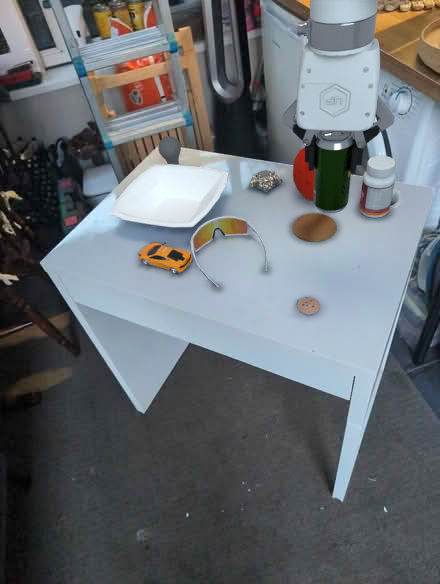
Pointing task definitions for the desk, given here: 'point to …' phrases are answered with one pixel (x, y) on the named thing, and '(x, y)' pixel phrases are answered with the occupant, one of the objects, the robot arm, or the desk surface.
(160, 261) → the toy car
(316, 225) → the coaster
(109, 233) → the desk surface
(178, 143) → the light bulb
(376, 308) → the desk surface
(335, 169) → the beer can
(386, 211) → the pill bottle
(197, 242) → the sunglasses
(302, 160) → the apple
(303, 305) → the cookie
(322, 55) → the robot arm
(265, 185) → the ornament
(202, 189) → the bowl
